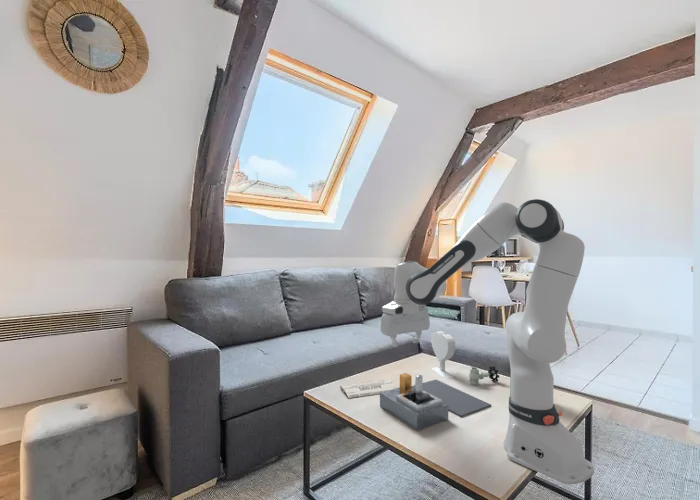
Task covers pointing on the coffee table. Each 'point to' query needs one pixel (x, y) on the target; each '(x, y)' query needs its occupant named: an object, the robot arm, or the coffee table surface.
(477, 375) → the valve
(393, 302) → the robot arm
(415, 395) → the toggle switch
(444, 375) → the heart sculpture
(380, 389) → the newspaper
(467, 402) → the mat
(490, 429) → the coffee table surface
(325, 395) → the coffee table surface
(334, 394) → the coffee table surface
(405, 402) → the square frame with handle
